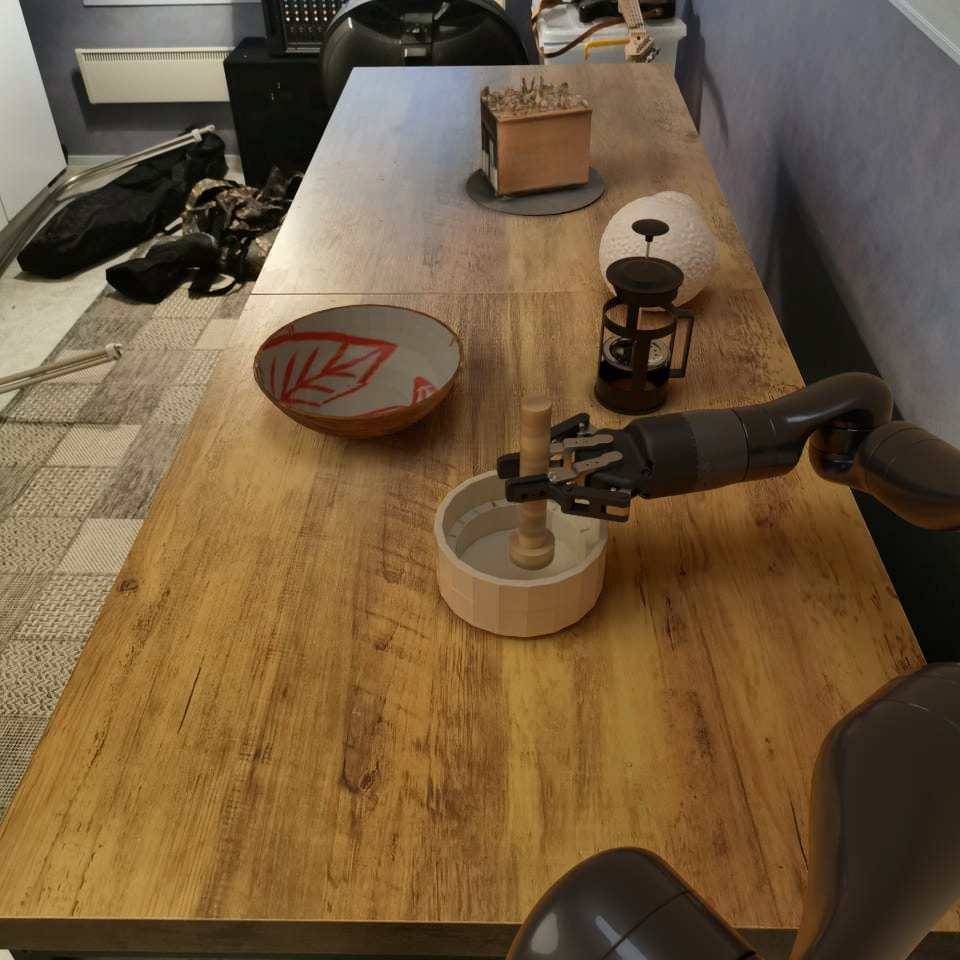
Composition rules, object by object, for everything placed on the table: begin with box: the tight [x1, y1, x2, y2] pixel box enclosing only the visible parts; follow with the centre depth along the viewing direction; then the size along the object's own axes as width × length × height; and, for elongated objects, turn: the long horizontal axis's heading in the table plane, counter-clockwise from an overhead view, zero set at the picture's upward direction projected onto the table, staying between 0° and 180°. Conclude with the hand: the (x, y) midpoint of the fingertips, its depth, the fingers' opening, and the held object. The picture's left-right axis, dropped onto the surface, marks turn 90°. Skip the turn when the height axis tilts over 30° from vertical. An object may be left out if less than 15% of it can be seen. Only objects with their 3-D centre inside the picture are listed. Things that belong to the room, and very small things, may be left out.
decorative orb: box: [598, 190, 721, 312], centre depth 131 cm, size 20×18×16 cm
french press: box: [593, 219, 695, 416], centre depth 110 cm, size 12×9×23 cm
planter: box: [465, 74, 605, 216], centre depth 162 cm, size 25×25×19 cm
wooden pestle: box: [509, 393, 555, 570], centre depth 83 cm, size 4×4×18 cm
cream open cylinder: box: [433, 469, 609, 638], centre depth 91 cm, size 17×17×8 cm
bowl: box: [252, 303, 465, 440], centre depth 113 cm, size 25×25×8 cm
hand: (502, 479), depth 82 cm, fingers closed on wooden pestle, 2 cm apart
